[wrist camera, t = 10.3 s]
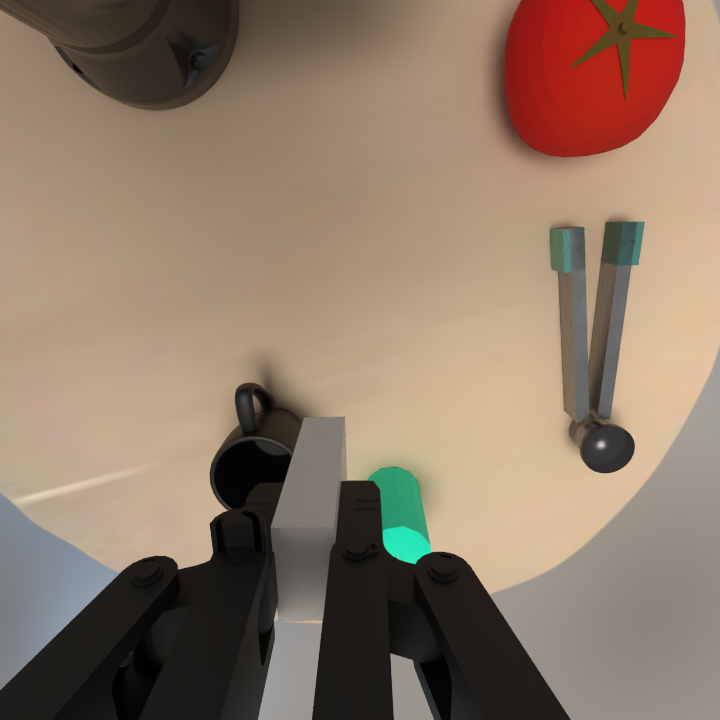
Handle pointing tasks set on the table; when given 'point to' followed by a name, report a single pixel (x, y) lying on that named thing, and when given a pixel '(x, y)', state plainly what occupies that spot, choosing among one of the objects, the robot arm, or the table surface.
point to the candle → (402, 514)
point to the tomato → (591, 71)
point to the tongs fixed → (608, 352)
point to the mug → (254, 448)
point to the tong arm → (572, 317)
